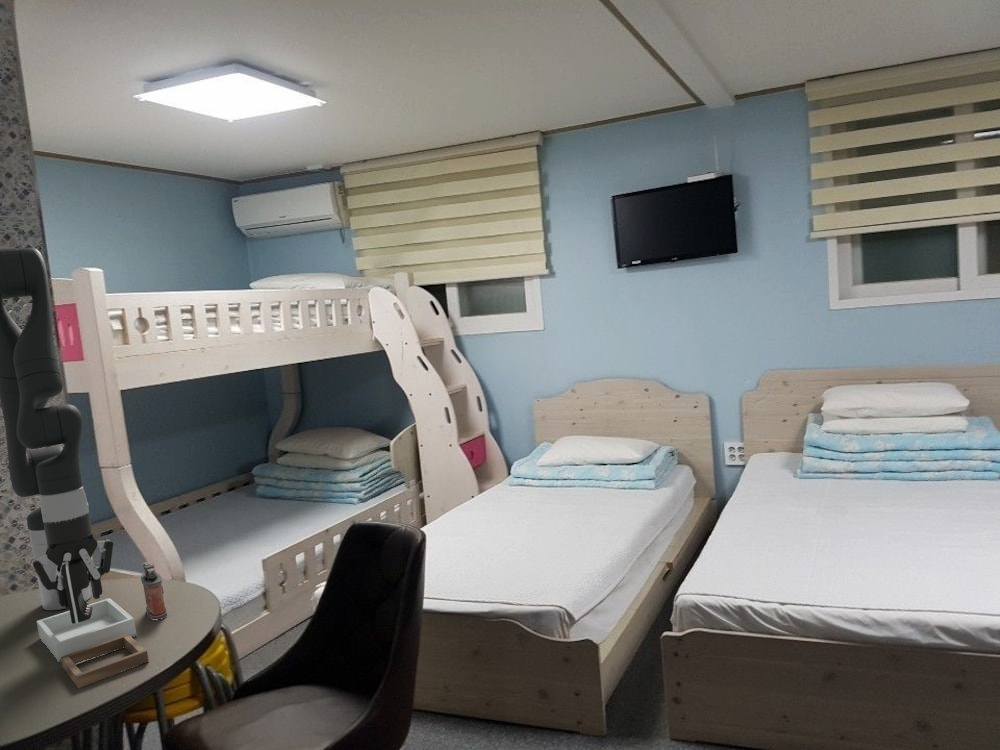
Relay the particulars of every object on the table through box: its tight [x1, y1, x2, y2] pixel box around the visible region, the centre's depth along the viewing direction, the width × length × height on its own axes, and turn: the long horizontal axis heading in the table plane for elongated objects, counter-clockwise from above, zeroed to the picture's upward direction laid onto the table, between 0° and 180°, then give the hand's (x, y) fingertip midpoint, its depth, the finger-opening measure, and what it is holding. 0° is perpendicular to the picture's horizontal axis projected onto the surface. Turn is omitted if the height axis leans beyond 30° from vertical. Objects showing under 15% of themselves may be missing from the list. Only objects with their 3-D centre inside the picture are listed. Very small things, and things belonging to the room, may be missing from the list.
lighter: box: [140, 561, 168, 620], centre depth 158 cm, size 8×3×10 cm, turn 34°
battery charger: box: [62, 559, 93, 624], centre depth 149 cm, size 7×4×11 cm, turn 23°
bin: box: [36, 597, 138, 662], centre depth 150 cm, size 16×13×4 cm
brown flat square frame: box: [61, 634, 149, 689], centre depth 137 cm, size 11×11×2 cm
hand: (81, 602), depth 149 cm, fingers closed on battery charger, 4 cm apart
